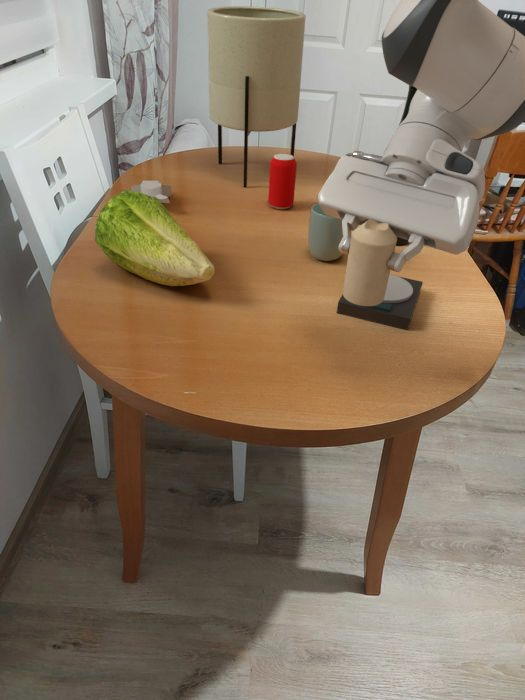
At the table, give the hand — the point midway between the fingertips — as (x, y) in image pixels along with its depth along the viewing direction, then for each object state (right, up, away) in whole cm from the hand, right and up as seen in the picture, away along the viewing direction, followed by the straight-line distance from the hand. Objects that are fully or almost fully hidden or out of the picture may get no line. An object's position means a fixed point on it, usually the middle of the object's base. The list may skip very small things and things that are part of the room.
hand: (368, 260), depth 65 cm
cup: (0, +8, +40) cm, 41 cm away
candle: (0, -4, +4) cm, 6 cm away
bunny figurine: (-40, +24, +59) cm, 75 cm away
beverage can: (-9, +24, +62) cm, 67 cm away
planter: (-16, +38, +81) cm, 91 cm away
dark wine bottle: (+15, +14, +50) cm, 54 cm away
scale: (+8, -3, +26) cm, 28 cm away
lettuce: (-31, +2, +30) cm, 43 cm away
